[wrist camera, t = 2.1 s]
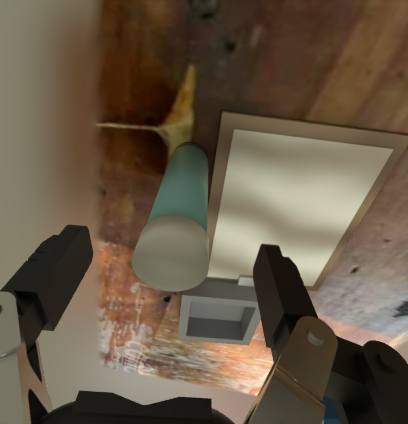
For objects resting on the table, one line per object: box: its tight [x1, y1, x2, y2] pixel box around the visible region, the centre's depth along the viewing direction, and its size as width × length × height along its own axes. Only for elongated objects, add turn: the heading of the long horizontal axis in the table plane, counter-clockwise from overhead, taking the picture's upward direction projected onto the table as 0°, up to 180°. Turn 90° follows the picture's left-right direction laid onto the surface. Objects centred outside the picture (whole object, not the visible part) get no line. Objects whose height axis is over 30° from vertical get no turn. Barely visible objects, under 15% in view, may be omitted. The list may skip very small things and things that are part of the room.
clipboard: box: [206, 110, 408, 291], centre depth 22 cm, size 18×14×1 cm
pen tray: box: [178, 278, 261, 345], centre depth 29 cm, size 9×9×3 cm
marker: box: [132, 142, 209, 291], centre depth 15 cm, size 3×3×12 cm
